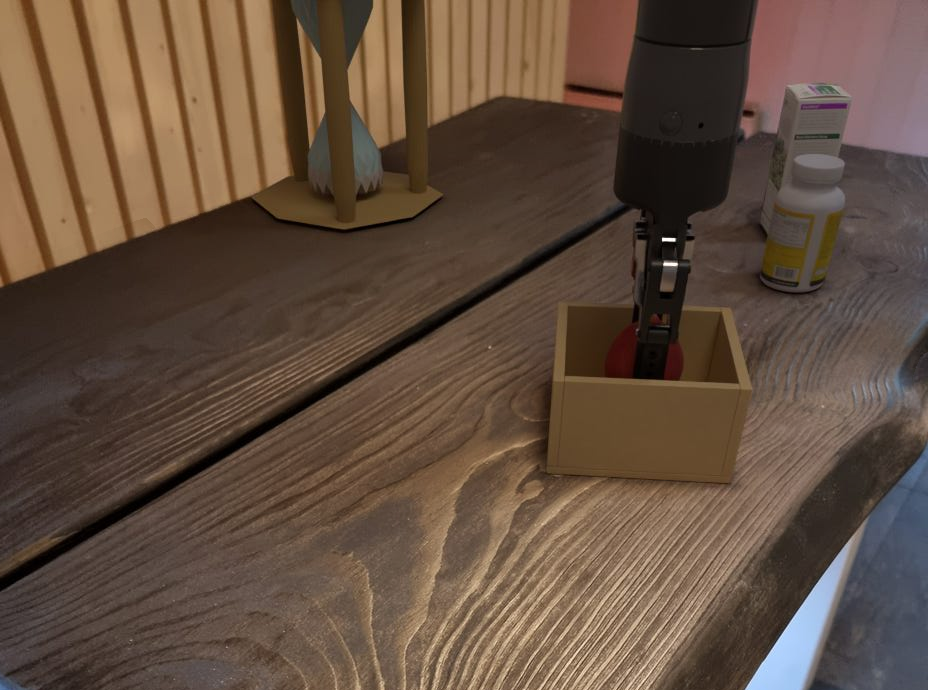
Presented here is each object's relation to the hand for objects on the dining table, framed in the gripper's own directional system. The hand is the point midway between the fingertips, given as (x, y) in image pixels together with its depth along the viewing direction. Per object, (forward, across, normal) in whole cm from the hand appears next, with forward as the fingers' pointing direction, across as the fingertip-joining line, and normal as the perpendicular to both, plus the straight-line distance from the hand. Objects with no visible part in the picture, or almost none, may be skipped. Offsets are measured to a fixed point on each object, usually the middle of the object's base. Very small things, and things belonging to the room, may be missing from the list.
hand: (644, 366), depth 70 cm
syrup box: (+6, +47, -19) cm, 51 cm away
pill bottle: (+6, +32, -17) cm, 37 cm away
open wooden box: (+6, 0, 0) cm, 6 cm away
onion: (+4, 0, 0) cm, 4 cm away
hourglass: (+6, +54, +34) cm, 64 cm away
